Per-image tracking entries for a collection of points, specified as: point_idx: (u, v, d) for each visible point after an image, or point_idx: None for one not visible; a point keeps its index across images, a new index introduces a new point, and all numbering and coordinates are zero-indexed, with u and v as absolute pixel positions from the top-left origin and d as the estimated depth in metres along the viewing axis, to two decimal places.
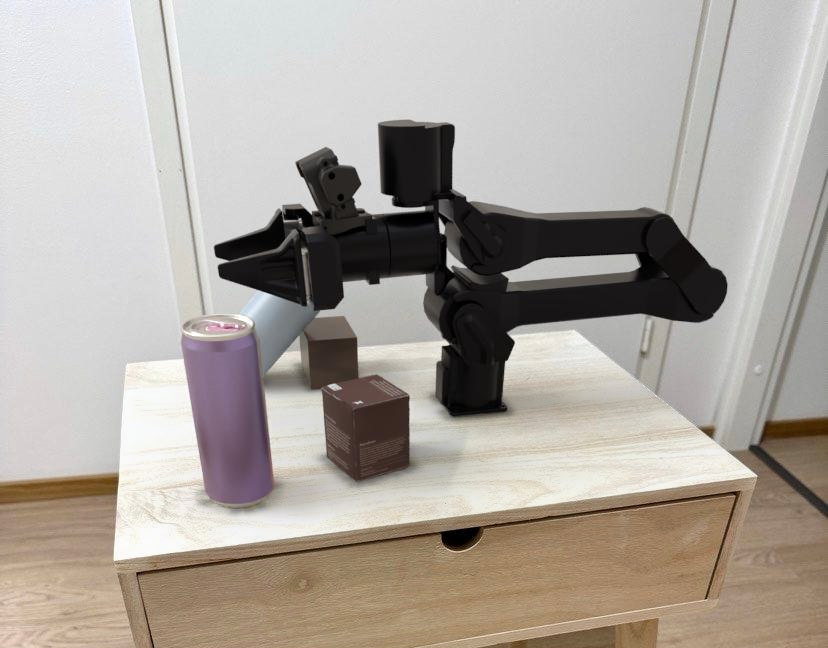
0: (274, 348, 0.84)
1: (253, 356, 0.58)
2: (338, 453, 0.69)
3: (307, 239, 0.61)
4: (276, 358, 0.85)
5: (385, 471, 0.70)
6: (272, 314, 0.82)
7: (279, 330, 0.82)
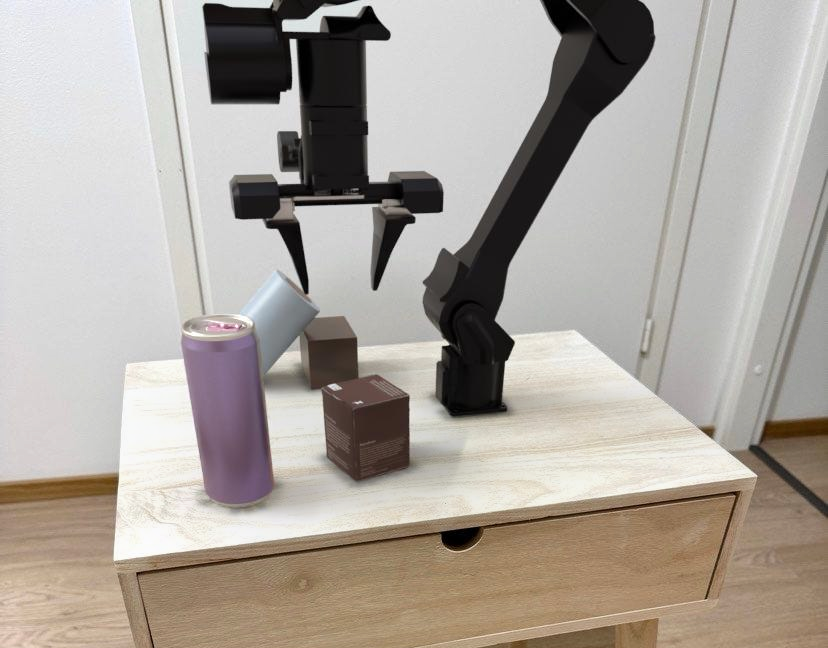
0: (274, 348, 0.84)
1: (252, 356, 0.58)
2: (338, 453, 0.69)
3: None
4: (276, 358, 0.85)
5: (385, 471, 0.70)
6: (272, 314, 0.82)
7: (279, 330, 0.82)
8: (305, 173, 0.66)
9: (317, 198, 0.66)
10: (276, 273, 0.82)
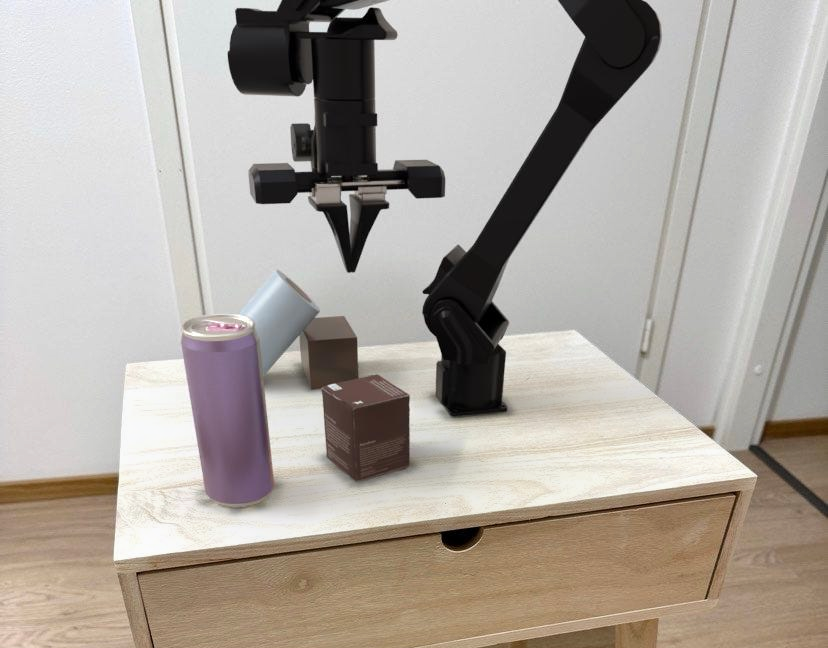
0: (274, 348, 0.84)
1: (253, 356, 0.58)
2: (338, 453, 0.69)
3: None
4: (276, 358, 0.85)
5: (385, 471, 0.70)
6: (272, 314, 0.82)
7: (279, 330, 0.82)
8: (319, 161, 0.72)
9: (362, 183, 0.73)
10: (276, 273, 0.82)
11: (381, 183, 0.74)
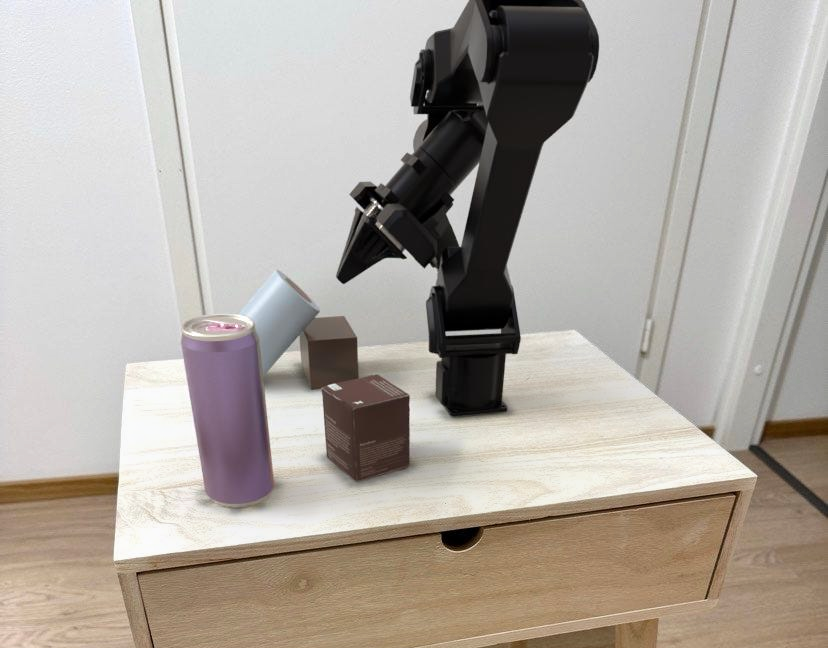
0: (274, 348, 0.84)
1: (253, 356, 0.58)
2: (338, 453, 0.69)
3: None
4: (276, 358, 0.85)
5: (385, 471, 0.70)
6: (272, 314, 0.82)
7: (279, 330, 0.82)
8: None
9: (383, 210, 0.80)
10: (276, 273, 0.82)
11: None
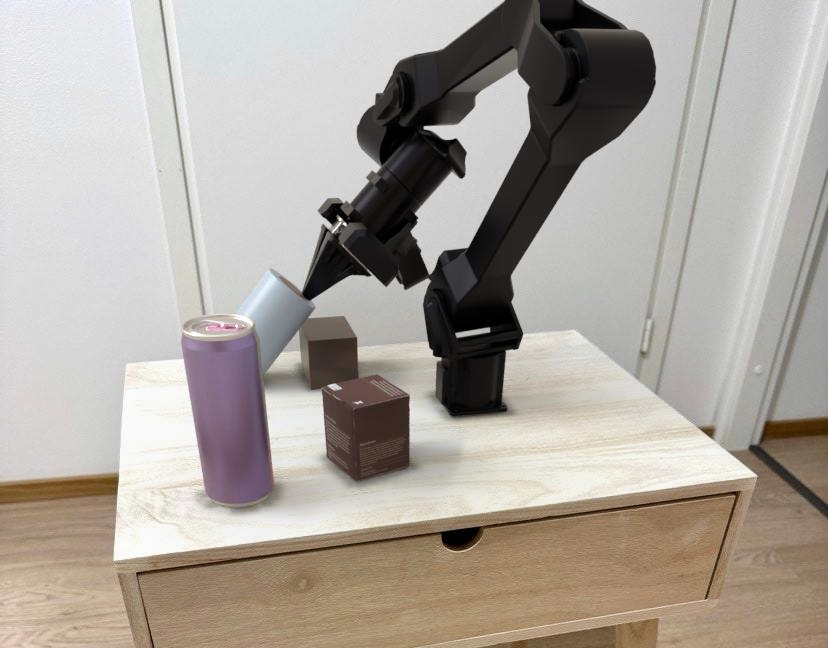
0: (271, 347, 0.84)
1: (253, 356, 0.58)
2: (338, 453, 0.69)
3: None
4: (274, 357, 0.85)
5: (385, 471, 0.70)
6: (268, 313, 0.81)
7: (275, 329, 0.82)
8: None
9: None
10: (269, 272, 0.81)
11: None
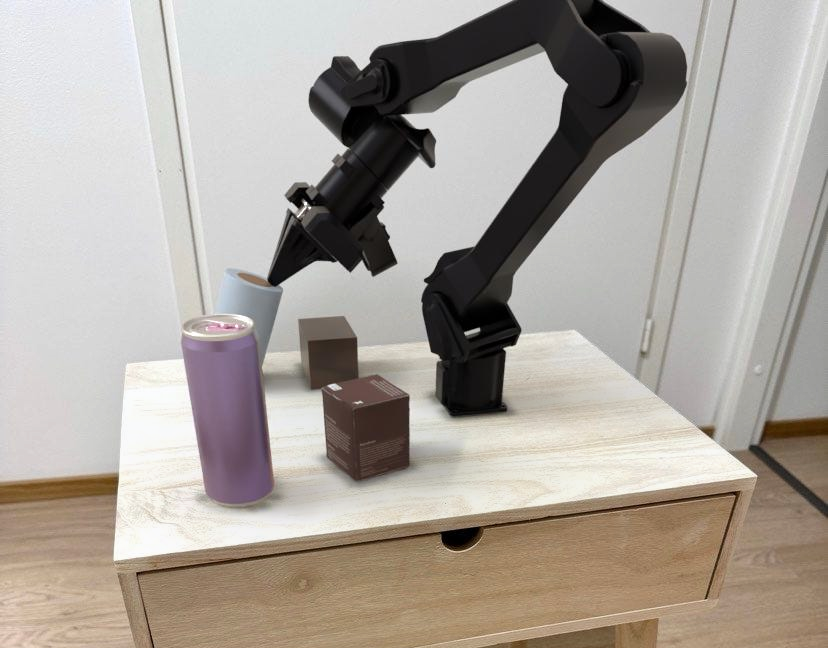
0: None
1: (253, 356, 0.58)
2: (338, 453, 0.69)
3: None
4: (262, 354, 0.85)
5: (385, 471, 0.70)
6: None
7: None
8: None
9: None
10: (226, 274, 0.80)
11: None
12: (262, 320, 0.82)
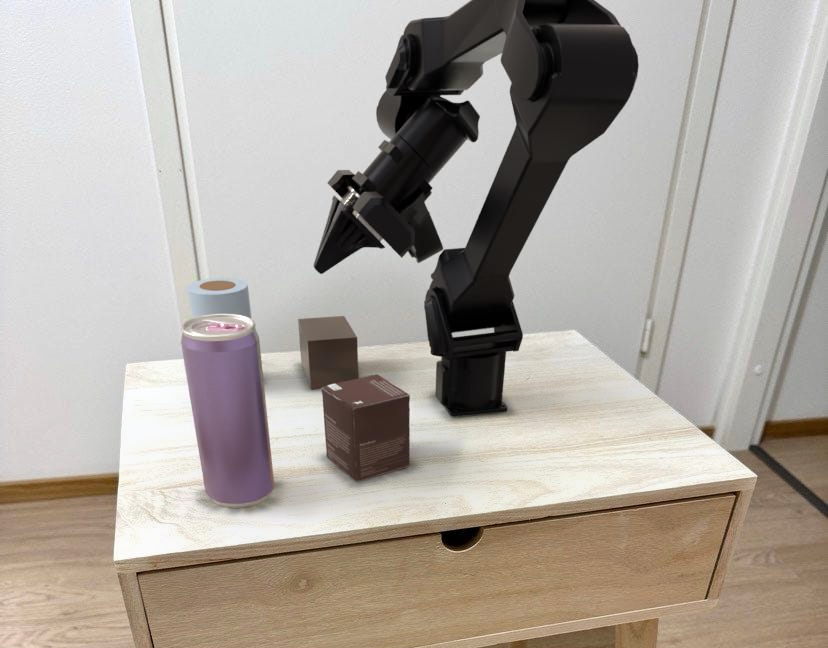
0: None
1: (253, 356, 0.58)
2: (338, 453, 0.69)
3: None
4: None
5: (385, 471, 0.70)
6: None
7: None
8: None
9: None
10: (188, 290, 0.80)
11: None
12: None
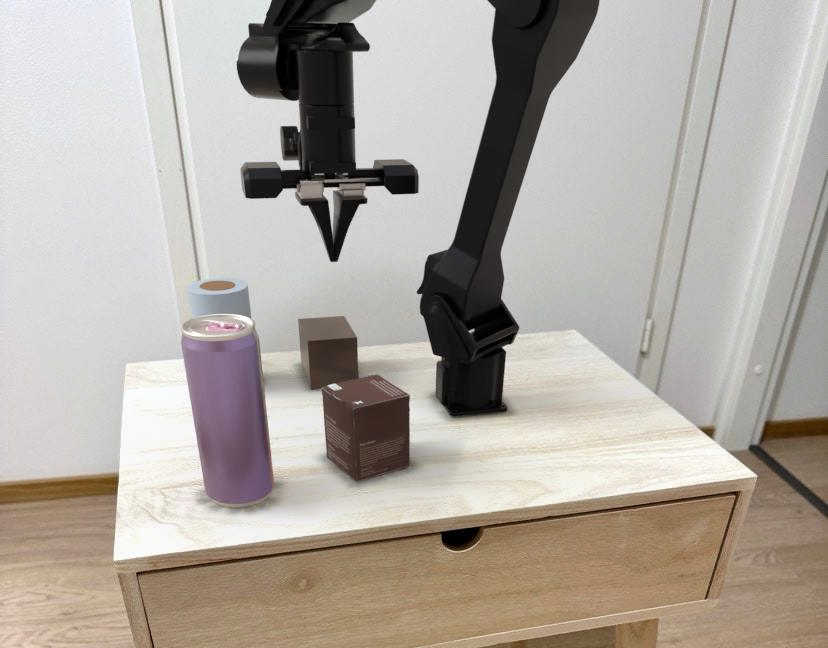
0: None
1: (253, 356, 0.58)
2: (338, 453, 0.69)
3: None
4: None
5: (385, 471, 0.70)
6: None
7: None
8: (303, 160, 0.80)
9: (342, 180, 0.81)
10: (188, 290, 0.80)
11: (360, 180, 0.81)
12: None
